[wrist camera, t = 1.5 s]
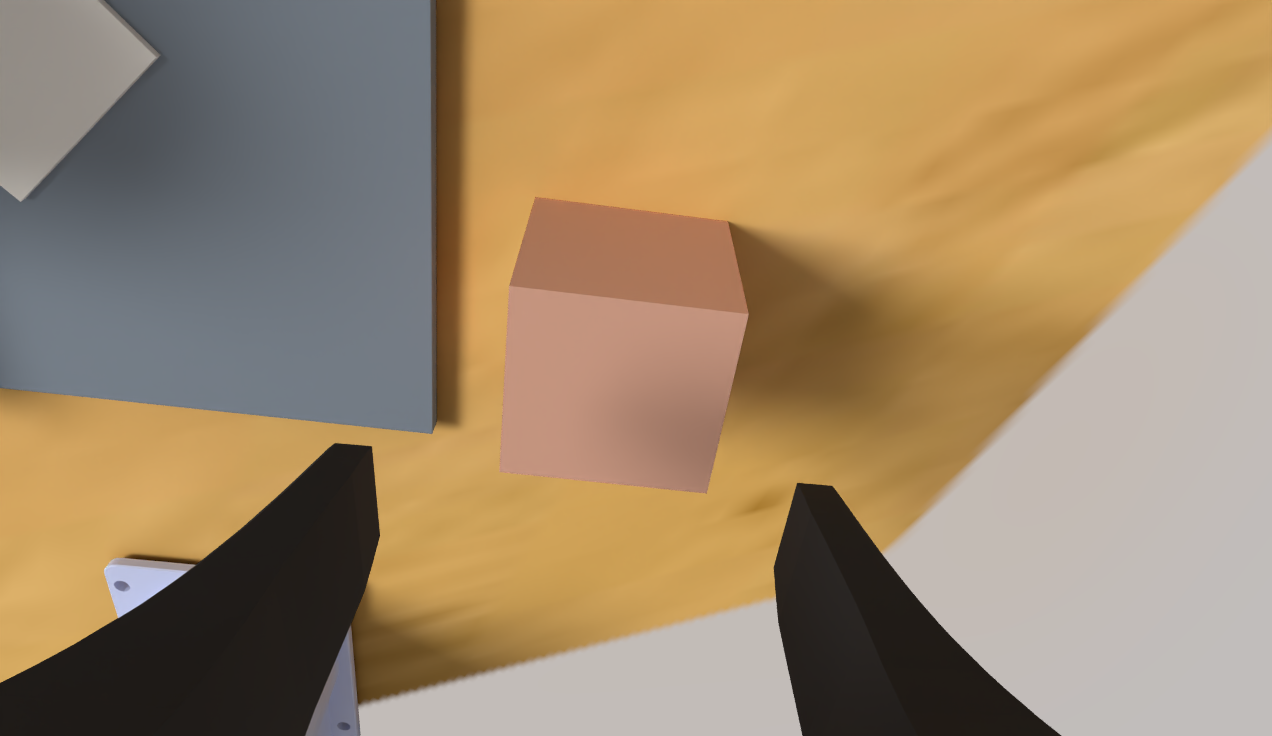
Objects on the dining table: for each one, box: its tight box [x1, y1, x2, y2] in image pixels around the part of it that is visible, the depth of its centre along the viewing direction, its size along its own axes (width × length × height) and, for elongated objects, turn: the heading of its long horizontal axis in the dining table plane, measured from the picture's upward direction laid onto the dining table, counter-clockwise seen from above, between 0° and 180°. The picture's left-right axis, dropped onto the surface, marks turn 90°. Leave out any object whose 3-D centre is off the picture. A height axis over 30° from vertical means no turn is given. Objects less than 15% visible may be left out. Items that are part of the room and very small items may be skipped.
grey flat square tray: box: [0, 0, 437, 434], centre depth 18 cm, size 16×16×4 cm
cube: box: [500, 197, 749, 493], centre depth 20 cm, size 5×5×5 cm
